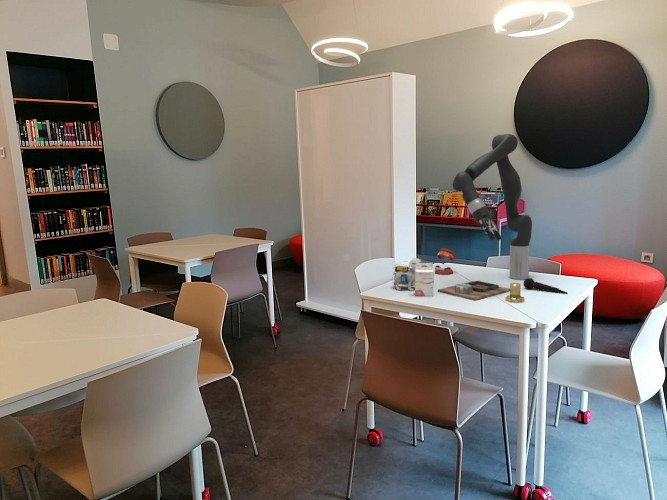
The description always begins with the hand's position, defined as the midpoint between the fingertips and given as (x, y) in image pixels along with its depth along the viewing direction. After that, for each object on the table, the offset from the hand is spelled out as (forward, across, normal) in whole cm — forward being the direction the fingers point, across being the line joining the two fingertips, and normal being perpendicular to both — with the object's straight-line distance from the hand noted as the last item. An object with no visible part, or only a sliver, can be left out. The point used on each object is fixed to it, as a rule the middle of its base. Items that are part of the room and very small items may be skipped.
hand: (496, 239), depth 226 cm
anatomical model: (-6, +32, +44) cm, 55 cm away
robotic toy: (-1, -8, +47) cm, 48 cm away
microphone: (+29, +19, 0) cm, 35 cm away
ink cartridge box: (+7, -16, +38) cm, 42 cm away
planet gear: (+28, -4, +6) cm, 29 cm away
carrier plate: (+15, +2, +23) cm, 27 cm away
